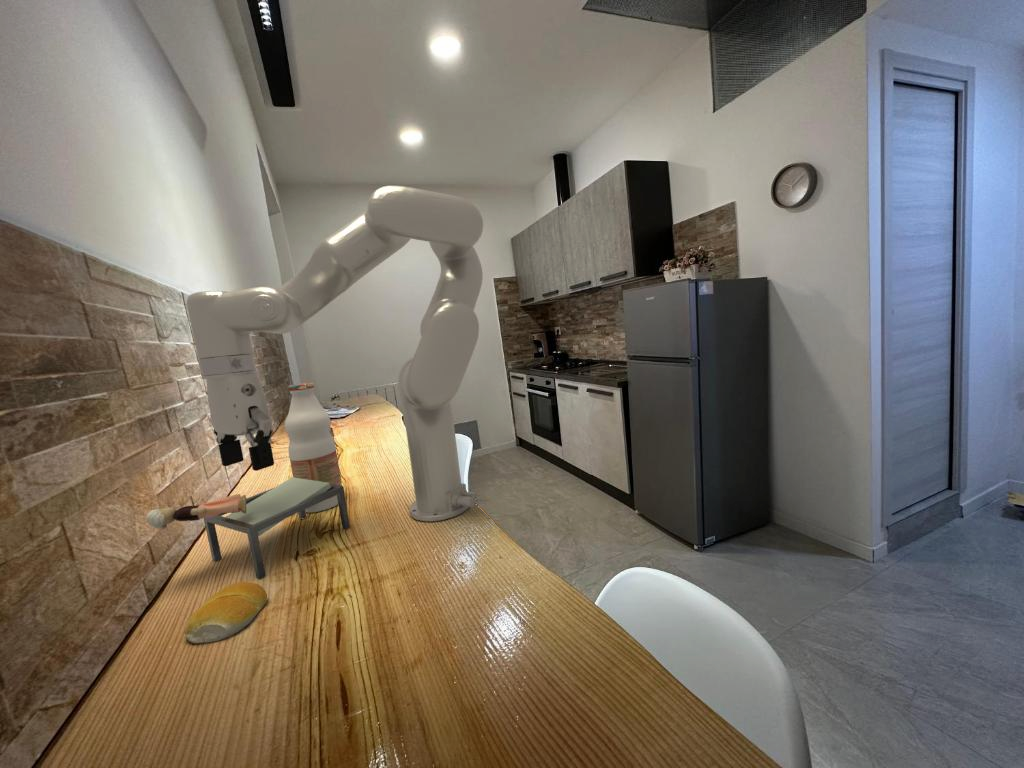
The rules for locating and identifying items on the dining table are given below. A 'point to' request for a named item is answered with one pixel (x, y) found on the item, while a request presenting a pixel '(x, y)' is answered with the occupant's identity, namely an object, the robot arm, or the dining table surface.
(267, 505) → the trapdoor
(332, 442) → the fruit juice
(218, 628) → the bread roll
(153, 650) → the dining table surface
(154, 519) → the grandmother figurine
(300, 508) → the miniature green-top table
